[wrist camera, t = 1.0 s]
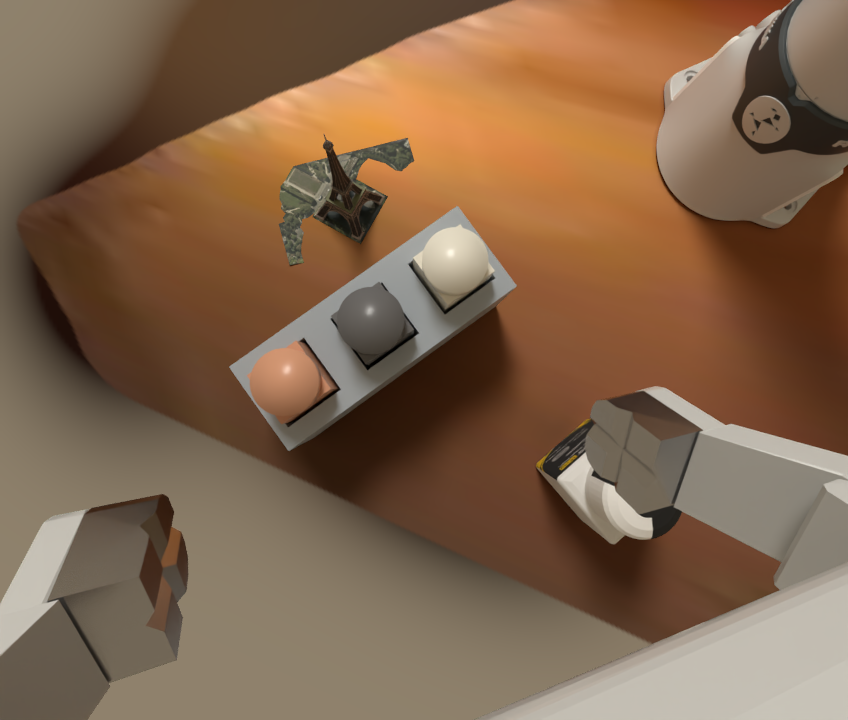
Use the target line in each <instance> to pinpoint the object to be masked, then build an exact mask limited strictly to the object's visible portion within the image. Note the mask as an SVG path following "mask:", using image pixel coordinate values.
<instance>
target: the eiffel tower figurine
mask: <svg viewBox="0 0 848 720" xmlns="http://www.w3.org/2000/svg"><path fill="white" fill-rule="evenodd" d="M324 137H325V135H324ZM325 140H326V137H325ZM323 148H324V149H325V150H326V153H327V157H328V158H325V159H321V160H317V161H313V162H309V163H305V164H301V165H297V166H294V167H293V168H292V170H291V171H290V173H289V175H288V177H287V179H286V180H285V182H284V183H283V184H282V185H281V191H280V201H281V203H282V207H281V209H282V210H283V211H284V212H285V213H286V214H285V216H284V217H283V219H284V221H285V222H283V223H280V224H279V226H280V230H281V234H282V238H283V241H284V245H285V249H286V252H287V256H288V260H289V264H290V265H293V264H298V263H304V262H303V258H302V255H301V244H302V238H303V233H304V232H303V231H302V229H301V228H300V226H301V224H302V219H304V218H308V217H309V216H311V215H312V214H313V213H314V215H313V217H314V218H315V219H317V220H319V221H321V222H322V223H324V224H326V225H328V226H330V227H331V228H333V229H335V230H337V231H338V232H340V233H342V234H344V235H346V236H347V237H349V238H351V239H353V240H354V241H356V242H358V243H360V244H361V242H362V241H363V239H364V237H365V236H366V234H367V232H368V230H369V229H370V227H371V225H372V223H373V222H374V220H375V218H376V216H377V215H378V213H379V211H380V209H381V208H382V206H383V204H384V202H385V201H386V199H387V197H388V196H386V195H384V194H382V193H380V192H378V191H377V190H375V189H373V188H371V187H369V186H367V185H366V184H364V183H362V182H360V181H358V180H356V178H357V175H358V171H359V169H360V167H361V165H362V164H363V163H364V162H365V161H366V160H367V159H368V158H370V159H373V160H376V161H380V162H383V163H386V164H387V165H389V166H390V167H392V168H393V169H394V170H397V171H402V170H403V169H404V168H406V167H407V166H408V165H409V164H410V163H411V162H413V161H414V158H413V155H412V152H411V148H410V145H409V141H408V138H405V139H401V140H397V141H393V142H389V143H385V144H381V145H377V146H373V147H369V148H365V149H361V150H357V151H353V152H349V153H345V154H341V155H337V156H336V154H335V152H334V150H333V144H332V142H330V141H328V140H326V141H325V142H324V144H323Z"/></svg>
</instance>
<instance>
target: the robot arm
mask: <svg viewBox="0 0 848 720" xmlns="http://www.w3.org/2000/svg"><path fill="white" fill-rule="evenodd" d="M687 81H689V82H687ZM664 101H665V114H664V117H663V120H662V123H661V126H660V129H659V132H658V137H657V159H658V164H659V168H660V171H661V174H662V176H663V178H664V180H665V182H666V184H667V185H668V187H669V189H670V190H671V191H672V193H673V194H674V195H675V196H676V197H677V198H678V199H679V200H680V201H681V202H682V203H683V204H684V205H686V206H687V207H688V208H690V209H691V210H693V211H695V212H697V213H699V214H701V215H703V216H706V217H709V218H713V219H717V220H724V221H739V220H746V221H752V222H755V223H757V224H760V225H762V226H765V227H769V228H779V227H781V226H783V225H785V224H787V223H788V222H789V221H791V219H792V218H793V217H794V216H795V215H796V214H797V213H798V212H799V210H800V209H801V208H802V207H803V206H804V205H805V204H806V203H807V201H808V200H809V199H810V198H811V197H812V196H813V195H814V193H815V192H816V191H817V190H818V189H819V188H820V187H822V186H824V185H826V184H828V183H829V182H831V181H833V180H835V179H836V178H838V177H839V176H841V175H842V174H843V168H844V167H846V166H847V165H848V0H792V1H791V2H790V3H789V4H788V5H787V6H785V7H784V8H783V9H782V10H778V11H776V12H774V13H772V14H771V15H769V16H768V17H766V18H765V19H764V20H763V21H761V22H760V23H759V24H758V25H757V26H756V27H754V26H750V27H748V28H746V29H745V30H744V31H742V32H741V33H740V34H739V35H738V36H735V37H734V38H732V39H731V40H730V41H728V42H727V43H726V44H725V45H724V46H723V47H722V48H721V49H720V50H719V51H718V52H717V53H716V54H715V55H714V56H713V57H712V58H710V59H707V60H705V61H703V62H701V63H698V64H696V65H694V66H692V67H689V68H687V69H685V70H683V71H680V72H678V73H676V74H674V75H673V76H672V77H671V78H670V79H669V80H668V81H667V82H666V84H665V87H664ZM784 207H786V209H785V208H784ZM590 418H591V420H592V421H593V423H594V425H593V427H592V428H591V429H590V431H589V432H588V433H587V435H586V441H585V451H586V455H587V459H588V461H589V463H590V465H591V466H592V468H593V469H594V470H595V471H596V472H597V473H598V474H599V476H600V477H602V478H605V479H607V480H610V481H612V482H614V484H615V491H616V492H617V493H618V494H619V495H620V496H621V497H622V498H623V499H624V500H625V501H626V502H627V503H628V504H629V505H630V506H631V507H632V508H633V509H634V510H635V511H636V512H637V513H638V514H643V513H646V512H650V511H654V510H657V509H661V508H664V507H668V506H671V505H674V507H675V508H677V509H679V510H680V511H682V512H684V513H686V514H688V515H690V516H692V517H694V518H696V519H698V520H700V521H702V522H704V523H706V524H708V525H710V526H712V527H714V528H716V529H718V530H720V531H722V532H723V533H725V534H727V535H729V536H731V537H733V538H735V539H737V540H739V541H741V542H743V543H745V544H747V545H749V546H751V547H753V548H755V549H757V550H759V551H761V552H763V553H764V554H766V555H768V556H770V557H772V558H774V559H776V560H778V561H780V562H781V564H780V566H779V568H778V570H777V572H776V574H775V575H774V584H775V586H776V587H778V588H779V589H780V590H779V591H777V592H775V593H772V594H770V595H768V596H765V597H763V598H760V599H758V600H756V601H753V602H751V603H749V604H746V605H744V606H741V607H739V608H737V609H734V610H732V611H730V612H727V613H725V614H722V615H720V616H718V617H715V618H713V619H711V620H708V621H706V622H704V623H701V624H699V625H696V626H694V627H692V628H689V629H687V630H685V631H682V632H680V633H677V634H675V635H673V636H670V637H668V638H666V639H663V640H661V641H659V642H656V643H654V644H651V645H649V646H647V647H645V648H642V649H640V650H637V651H635V652H633V653H630V654H628V655H625V656H623V657H621V658H618V659H616V660H614V661H611V662H609V663H607V664H604V665H602V666H599V667H597V668H595V669H592V670H590V671H587V672H585V673H583V674H580V675H578V676H576V677H573V678H571V679H568V680H566V681H564V682H561V683H559V684H557V685H554V686H552V687H550V688H547V689H545V690H543V691H540V692H538V693H535V694H533V695H531V696H528V697H526V698H524V699H521V700H519V701H516V702H514V703H512V704H509V705H507V706H505V707H502V708H500V709H498V710H495V711H493V712H491V713H488V714H486V715H483V716H481V717H479V718H476V719H474V720H848V456H846V455H843V454H839V453H835V452H832V451H828V450H825V449H821V448H817V447H814V446H810V445H806V444H803V443H799V442H795V441H792V440H788V439H784V438H781V437H777V436H773V435H770V434H766V433H763V432H759V431H755V430H752V429H748V428H744V427H741V426H737V425H733V424H729V425H724V424H723V423H721V422H719V421H718V420H716V419H714V418H713V417H711V416H710V415H708V414H706V413H705V412H703V411H702V410H700V409H698V408H697V407H695V406H693V405H692V404H690V403H689V402H687V401H685V400H684V399H682V398H681V397H679V396H677V395H676V394H674V393H672V392H671V391H669V390H668V389H666V388H663V387H658V386H655V387H651V388H647V389H643V390H639V391H636V392H633V393H628V394H624V395H619V396H615V397H610V398H606V399H601V400H597V401H596V403H595V404H594V405H593V407H592V411H591V415H590ZM173 515H174V511H173V508H172V506H171V503H170V501H169V498H168V497H167V496H165V495H163V494H161V495H156V496H150V497H145V498H140V499H135V500H130V501H125V502H120V503H115V504H109V505H104V506H99V507H94V508H91V509H87V510H82V511H76V512H71V513H66V514H61V515H56V516H52V517H51V518H50V519H48V520H47V521H45V522H44V523H43V524H42V526H41V528H40V530H39V532H38V533H37V535H36V537H35V539H34V541H33V543H32V545H31V547H30V549H29V550H28V552H27V555H26V556H25V558H24V560H23V562H22V564H21V565H20V567H19V569H18V571H17V573H16V575H15V577H14V579H13V581H12V582H11V585H10V586H9V588H8V590H7V592H6V594H5V596H4V598H3V600H2V601H1V603H0V720H88V718H89V716H90V715H91V714H92V712H93V711H94V709H95V708H96V706H97V705H98V704H99V702H100V700H101V699H102V698H103V696H104V695H105V693H106V692H107V690H108V689H109V687H110V685H109V683H111V682H114V681H117V680H120V679H123V678H125V677H128V676H131V675H134V674H137V673H140V672H143V671H146V670H149V669H152V668H155V667H158V666H161V665H164V664H167V663H169V662H172V661H175V660H177V654H178V647H179V640H180V633H181V626H182V619H183V617H182V614H181V612H180V609H179V606H178V604H177V602H178V601H179V600H180V599H181V597H182V596H183V595H184V594H185V592H186V590H187V581H188V556H187V551H186V546H185V541H184V539H183V536H182V533H181V532H180V531H178V530H176V529H175V528H173V527H171V526H172V521H173Z"/></svg>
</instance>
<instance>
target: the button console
mask: <svg viewBox="0 0 848 720" xmlns="http://www.w3.org/2000/svg"><path fill="white" fill-rule="evenodd" d="M460 224H461V226H462V227H463V228H465V229H467V230H470V231H472V232H473V233H475V234H476V235H477V236H478V237H479V238H480V239H481V240H482V238H481V237H480V236H479V234H478V233H477V232H476V230H475V229H474V227H473V226H472V225H471V223H470V222H469V221H468V219H467V218H466V217H465V215H464V214H463V213H462V211H461V210H460V209H459V207H458V206H457V207H455V208H454V209H452V210H451V211H449V212H448V213H447V214H445V215H444V216H442V217H441V218H439V219H438V220H437V221H435V222H434V223H432V224H431V225H430V226H428V227H427V228H425V229H424V230H422V231H421V232H420V233H418V234H417V235H415V236H414V237H413V238H411V239H410V240H408V241H407V242H405V243H404V244H403V245H401V246H400V247H398V248H397V249H396V250H394V251H393V252H391V253H390V254H388V255H387V256H386V257H384V258H383V259H381V260H380V261H379V262H377V263H376V264H374V265H373V266H371V267H370V268H369V269H367V270H366V271H364V272H363V273H362V274H360V275H359V276H357V277H356V278H354V279H353V280H352V281H350V282H349V283H347V284H346V285H345V286H343V287H342V288H340V289H339V290H337V291H336V292H335V293H333V294H332V295H330V296H329V297H328V298H326V299H325V300H323V301H322V302H320V303H319V304H318V305H316V306H315V307H313V308H312V309H311V310H309V311H308V312H306V313H305V314H303V315H302V316H301V317H299V318H298V319H296V320H295V321H294V322H292V323H291V324H289V325H288V326H286V327H285V328H284V329H282V330H281V331H279V332H278V333H277V334H275V335H274V336H272V337H271V338H269V339H268V340H267V341H265V342H264V343H262V344H261V345H260V346H258V347H257V348H255V349H254V350H252V351H251V352H250V353H248V354H247V355H245V356H244V357H242V358H241V359H240V360H238V361H237V362H235V363H234V364H233V365H231V366H230V367H229V368H230V369H231V371H232V372H233V373H234V375H235V376H236V378H237V379H238V380H239V382H240V383H241V385H242V386H243V388H244V389H245V390H246V392H247V393H248V395H249V396H250V397H251V399H252V400H253V402H254V403H255V404H256V406H257V407H258V409H259V410H260V412H261V413H262V414H263V416H264V417H265V419H266V420H267V421H268V423H269V424H270V426H271V427H272V428H273V430H274V431H275V433H276V434H277V436H278V437H279V438H280V440H281V441H282V443H283V444H284V445H285V447H286V448H287V450H288V451H290V450H292V449H294V448H296V447H297V446H299V445H301V444H303V443H305V442H307V441H309V440H311V439H313V438H315V437H316V436H317V435H319V434H320V433H322V432H323V431H324V430H326V429H327V428H328V427H330V426H331V425H333V424H334V423H335V422H337V421H338V420H340V419H341V418H342V417H344V416H345V415H346V414H348V413H349V412H351V411H352V410H353V409H355V408H356V407H357V406H359V405H360V404H362V403H363V402H364V401H366V400H367V399H369V398H370V397H371V396H373V395H374V394H375V393H377V392H378V391H380V390H381V389H382V388H384V387H385V386H386V385H388V384H389V383H391V382H392V381H393V380H395V379H396V378H398V377H399V376H400V375H402V374H403V373H404V372H406V371H407V370H409V369H410V368H411V367H413V366H414V365H415V364H417V363H418V362H420V361H421V360H422V359H424V358H425V357H427V356H428V355H429V354H431V353H432V352H433V351H435V350H436V349H438V348H439V347H440V346H442V345H443V344H445V343H446V342H447V341H449V340H450V339H451V338H453V337H454V336H456V335H457V334H458V333H460V332H461V331H462V330H464V329H465V328H467V327H468V326H469V325H471V324H472V323H474V322H475V321H476V320H478V319H479V318H480V317H482V316H483V315H485V314H486V313H487V312H489V311H490V310H491V309H493V308H494V307H496V306H497V305H498V304H499V303H500V302H501V301H502V300H503V299H504V298H505V297H506V296H507V295H508V294H509V293H510V292H511V291H512V290H513V289H514V288H515V287H516V284H515V283H514V282H513V280H512V279H511V277H510V276H509V275H508V273H507V272H506V271H505V269H504V268H503V267H502V265H501V264H500V263H499V261H498V260H497V259H496V257H495V256H494V255H493V253H492V252H491V250H490V249H489V248H488V246H487V245H486V244H485V242H484V241H483V240H482V241H483V243H484V245H485V247H486V249H487V252H488V260H489V261H488V262H489V264H490V265H491V266H492V268H493V269H494V270H495V271H494V273H493V274H492V276H491V277H490V279H489V280H488V281H487V283H486V284H485V286H484V287H483V288H481V289H480V290H479V291H477V292H476V293H474V294H473V295H472V296H470V297H469V298H467V299H466V300H465V301H463V302H462V303H460V304H459V305H458V306H456V307H455V308H453V309H452V310H451V311H449V312H448V313H447V314H444V313H443V312H442V310H441V309H440V307H439V306H438V305H437V303H436V302H435V301H434V299H433V298H432V296H431V295H430V294H429V292H428V291H427V290H426V288H425V287H424V286H423V284H422V283H421V281H420V280H419V279H418V277H417V276H416V275H415V273H414V272H413V257H414V256H416V255H417V254H419V253H420V252H421V251H423V250H424V248H425V245H426V244H427V242H428V241H429V239H430V238H431V237H432V236H433V235H434V234H435V233H437V232H439V231H441V230H443V229H446V228H450V227H457V226H458V225H460ZM378 282H380V283H381V285H382V286H383V287H384V289H385V290H386V291H388V292H389V293H391V294H392V295H393V296H394V297H395V298H396V299H397V300H398V301H399V303H400V305H401V307H402V309H403V312H404V316H405V318H406V319H407V320H408V322H409V323H410V325H411V326H412V327H413V329H414V337H413V338H412V339H410V340H409V341H408V342H406V343H405V344H403V345H402V346H401V347H399V348H398V349H397V350H395V351H394V352H392V353H391V354H390V355H388V356H387V357H385V358H384V359H383V360H381V361H380V362H378V363H377V364H376V365H374V366H373V367H371V366H369V365H367V364H365V363H364V361H363V360H362V359H361V357H360V356H359V354H358V353H357V352H356V350H354V349H353V348H351V347H350V346H349V345H347V344H346V342H345V341H344V340H343V339H342V337H341V335H340V333H339V330H338V326H337V324H336V322H335V321H334V320H333V318H332V317H331V315H333V314H334V313H335V312H337V311H338V310H339V308H340V306H341V304H342V302H343V301H344V299H345V298H346V297H347V296H348V295H349V294H351V293H352V292H354V291H356V290H358V289H361V288H364V287H372V286H373V285H375V284H376V283H378ZM296 340H297V341H299V342H302V343H305V344H307V345H310V347H311V348H312V350H313V351H314V352H315V354H316V355H317V357H318V358H319V359H320V361H321V362H322V364H323V365H324V366H325V368H326V369H327V370H328V372H329V373H330V375H331V376H332V377H333V379H334V380H335V382H336V383H337V384H338V386H339V387H340V389H341V390H340V391H338V392H337V393H335V394H334V395H333V396H331V397H330V398H328V399H327V400H326V401H324V402H323V403H322V404H320V405H319V406H317V407H316V408H315V409H313V410H312V411H310V412H309V413H308V414H306V415H305V416H303V417H302V418H301V419H298V420H295V421H291V422H288V423H284V424H281V423H280V422H279V420H278V419H277V418H276V416H275V415H273V414H270V413H268V412H266V411H265V410H263V409H262V408H261V407H260V406H259V405H258V404H257V403H256V402H255V400H254V398H253V396H252V394H251V390H250V380H249V378H248V377H247V375H248V374H249V373H251V372H252V369H253V367H254V365H255V364H256V362H257V361H258V360H259V359H260V358H261V357H262V356H263V355H264V354H266V353H268V352H270V351H272V350H275V349H279V348H286V347H287V346H289V345H290V344H292V343H293V342H294V341H296Z"/></svg>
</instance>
